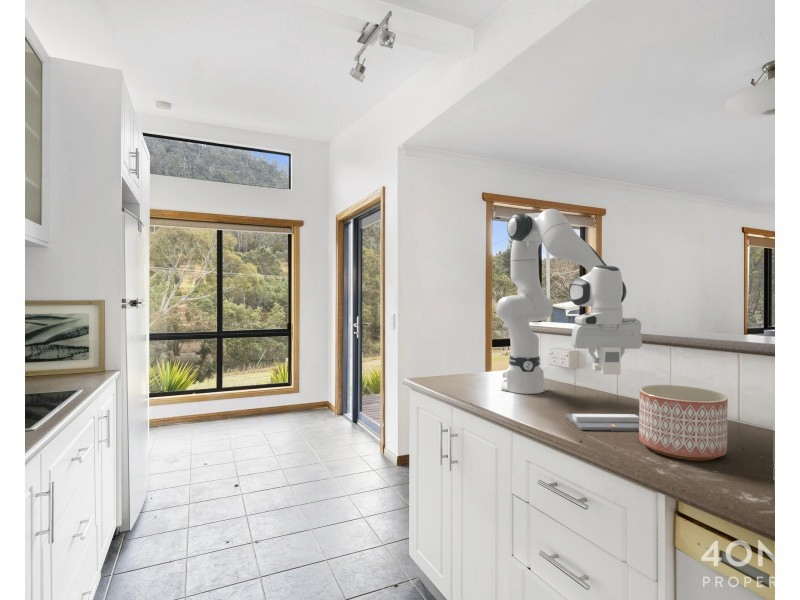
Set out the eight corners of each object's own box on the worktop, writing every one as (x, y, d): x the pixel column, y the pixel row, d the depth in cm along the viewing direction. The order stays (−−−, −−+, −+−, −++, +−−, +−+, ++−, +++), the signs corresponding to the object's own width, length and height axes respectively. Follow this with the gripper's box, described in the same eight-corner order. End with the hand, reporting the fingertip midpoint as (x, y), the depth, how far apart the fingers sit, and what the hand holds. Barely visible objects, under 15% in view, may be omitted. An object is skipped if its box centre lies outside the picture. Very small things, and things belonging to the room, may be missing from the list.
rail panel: (565, 416, 146) (565, 409, 146) (627, 417, 145) (628, 409, 145) (581, 430, 132) (581, 422, 132) (650, 431, 131) (650, 422, 131)
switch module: (592, 369, 142) (592, 344, 142) (608, 369, 142) (609, 344, 142) (603, 374, 134) (603, 347, 134) (620, 374, 134) (620, 347, 133)
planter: (650, 432, 130) (651, 381, 129) (732, 449, 116) (733, 392, 116) (628, 450, 116) (629, 393, 115) (719, 470, 102) (720, 406, 102)
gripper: (635, 317, 140) (635, 361, 141) (569, 317, 141) (569, 361, 141) (646, 318, 134) (645, 364, 134) (576, 318, 135) (576, 364, 135)
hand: (606, 363), depth 138 cm, fingers closed on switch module, 5 cm apart
